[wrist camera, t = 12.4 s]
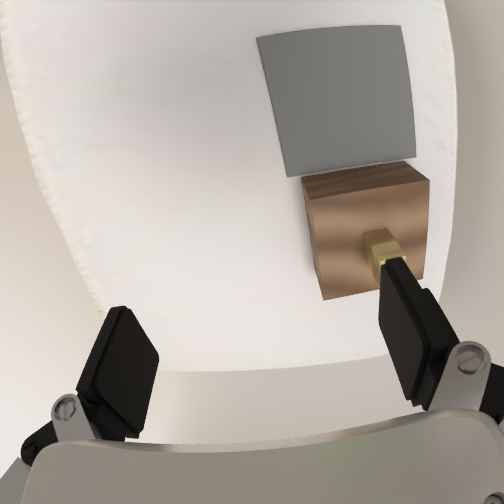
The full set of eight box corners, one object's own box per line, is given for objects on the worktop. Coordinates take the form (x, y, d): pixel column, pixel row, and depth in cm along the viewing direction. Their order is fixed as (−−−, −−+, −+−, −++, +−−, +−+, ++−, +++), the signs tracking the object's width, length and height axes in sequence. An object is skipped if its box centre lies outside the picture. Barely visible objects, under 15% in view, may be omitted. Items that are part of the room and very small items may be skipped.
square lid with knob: (300, 177, 40) (320, 225, 28) (404, 161, 38) (455, 201, 27) (315, 268, 47) (331, 333, 36) (404, 250, 46) (440, 307, 34)
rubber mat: (256, 38, 30) (256, 37, 30) (398, 26, 28) (400, 25, 28) (287, 176, 40) (287, 177, 39) (414, 156, 37) (416, 157, 37)
